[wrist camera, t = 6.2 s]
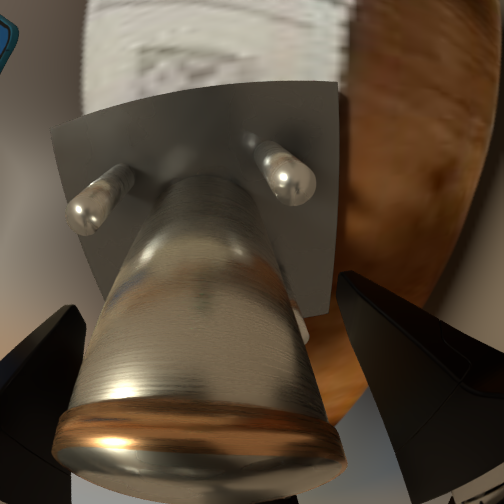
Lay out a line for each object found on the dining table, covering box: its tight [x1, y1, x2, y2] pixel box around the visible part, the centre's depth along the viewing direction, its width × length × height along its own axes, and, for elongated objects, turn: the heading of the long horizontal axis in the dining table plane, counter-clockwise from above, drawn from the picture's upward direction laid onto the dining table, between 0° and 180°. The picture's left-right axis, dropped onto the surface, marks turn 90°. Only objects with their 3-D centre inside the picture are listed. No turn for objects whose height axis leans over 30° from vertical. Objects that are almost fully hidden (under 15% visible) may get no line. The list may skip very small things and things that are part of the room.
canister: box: [51, 176, 348, 504], centre depth 8 cm, size 5×5×10 cm
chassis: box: [50, 81, 339, 345], centre depth 11 cm, size 12×12×5 cm
